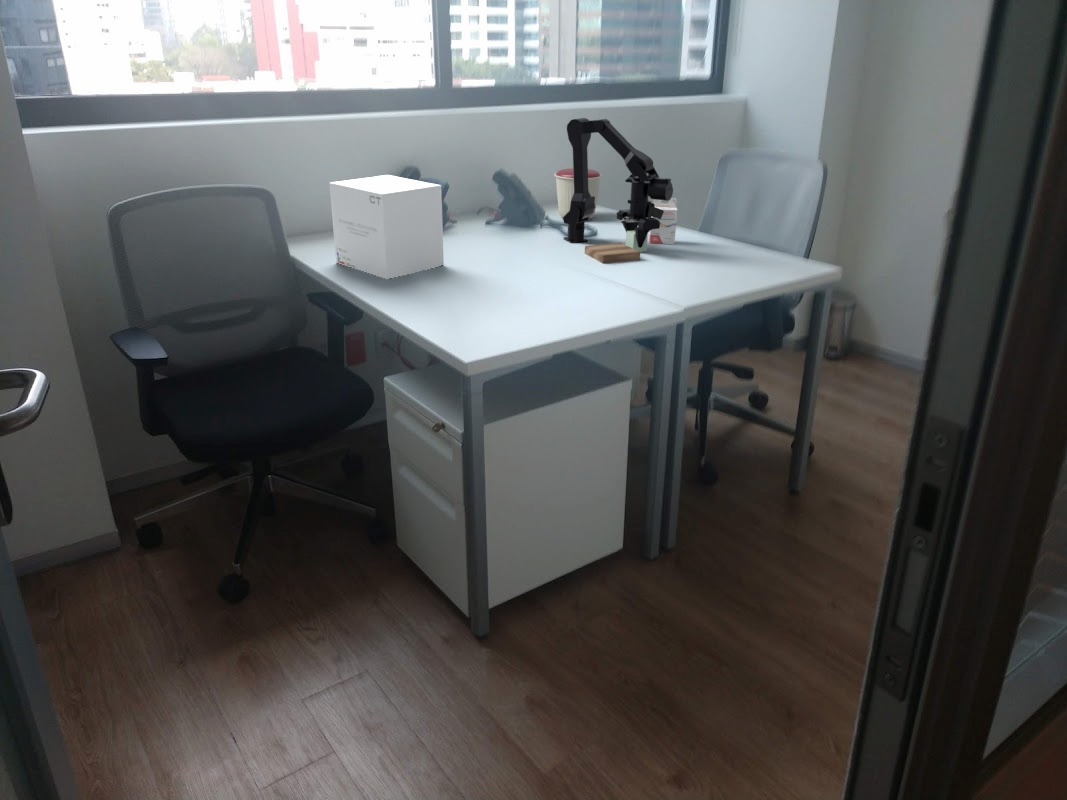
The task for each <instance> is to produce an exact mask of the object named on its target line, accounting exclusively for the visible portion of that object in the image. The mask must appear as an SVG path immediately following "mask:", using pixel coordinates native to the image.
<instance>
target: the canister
mask: <svg viewBox="0 0 1067 800" xmlns="http://www.w3.org/2000/svg"><path fill="white" fill-rule="evenodd" d="M553 176H554V177H555V182H556V183H555V186H556V196H557V205H558V213H559V216H560V217H561V218H562V219H563V217H564V216H565V215H566V214H567V213H568V212H569V211H570V203H571V199H572V197H573V194H574V173H573V167H572V168H563V169H559V170H558V171H557V172H555V173H554V174H553ZM602 177H603V175H602V174H601V173H600V171H597V170H595V169H591V168H588V191H589V193H590V195H591V197H592V196H595V207H596V208H597V203H598V197H599V191H600V184H601V178H602ZM596 208H595V209H594V212H593V214H592V215H591V216H590V217H589V220H591V219H593V218H594V216H595V214H596V213H595V212H596Z"/></svg>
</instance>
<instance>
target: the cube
mask: <svg viewBox="0 0 1067 800" xmlns="http://www.w3.org/2000/svg"><path fill="white" fill-rule="evenodd" d="M329 194H330V195H329V196H330V207H331V217H332V218H331V219H332V231H333V241H334V242H333V243H334V252H335V254H334V255H335V264H337V263H339V264H338V265H340V264H342V265H341V266H343V265H345V266H344V267H346V266H348V267H347V268H349V267H352V268H351V269H353V268H355V269H354V270H356V269H358V270H357V271H359V270H361V271H360V272H362V271H364V272H363V273H365V272H367V273H366V274H368V273H370V274H369V275H371V274H373V275H372V276H374V275H376V277H378V276H379V277H378V278H381V277H382V278H381V279H384V278H385V279H384V280H387V279H388V280H390V279H389V278H392V279H395V278H394V277H396V278H399V277H398V276H400V277H404V276H408V275H407V274H409V275H412V274H411V273H413V274H416V273H415V272H417V273H420V272H419V271H421V272H423V271H422V270H425V271H427V270H426V269H429V268H433V267H438V266H441V265H444V266H445V264H444V260H445V259H444V231H443V230H444V229H443V226H444V225H443V200H442V198H443V197H442V195H443V194H442V184H437V183H431V182H427V181H426V182H425V181H421V180H417V179H410V178H405V177H401V176H396V175H391V174H383V175H376V176H371V177H363V178H355V179H354V178H353V179H348V180H340V181H330V182H329ZM438 268H439V267H438ZM433 269H434V268H433ZM429 270H430V269H429ZM403 275H404V276H403Z"/></svg>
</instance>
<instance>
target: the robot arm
mask: <svg viewBox="0 0 1067 800" xmlns="http://www.w3.org/2000/svg"><path fill="white" fill-rule="evenodd" d="M566 132H567V139H568V141H569V143H570V145H571V148H572V161H573V162H572V168H573V173H574V194H573V197H572V199H571V203H570V211H569V212H568V213H567V214H566V215H565V216H564V217H563V218H562V220H563V223H564V224H565V225H567V235H566V236H564V237H563V239H564V240H565V241H567V242H569V243H584V242H585V243H586V242H588V241H589V240H588V239H587V238H585V222H589V220H590V219H589V217H590V216H591V215H592V214H593V212H594V209H595V208H597V206H596V207H595V196H592V197H591V195H590V193H589V191H588V169H589V166H588V165H589V164H588V163H589V162H588V146H589V144H590V141H591V138H592V137H591V136H592V134H594V133H598V134H599V135H600V136H601V137H602V138H603V139H604V140H605V141H606V142H607V143H608V145H610V146H611V148H613V149H614V150H615V152H616V153H618V155H620V156H621V158H622V160H623V161H624V164H625V166H626V168H627V169H628V171H629V172H630V175H629V176H628V177H627V178H626V179H625V180H624V181H625V183H630V184H631V185H630V186H631V187H630V199H627V204H629V208H627V209H619V210H618V211H617V212H616V219H618V220H619V221H620V222H621V225H622V227H623V228H624V230H625V232H626V234H627V231H633V230H635V233H636V238H637V243H638V247H639V248H641V247H642V246H643V243H644V241H645V238H646V236H647V237H648V235H649V233H650V230H652V229H659V228H660V221H659V220H658V219H660V220H661V218H662V215H663V212H664V210H661V209H658V208H656V207H655V204H653V202H652V201H651V200H653V199H656V200H664V201H666V202H669V200H670V199H671V198H673V194H674V187H673V184H672V182H671V181H672V179H671V178H669V177H666V178H662V177H660V176H659V173H658V172H657V170H656V169H655V167H654V161H653V159H652V158H651V157H650V156H649V155H647V154H645V153H644V152H643V151H641V150H638V149H637V148H636V147H634V146H633V145H632V144H631V143H630V142H629V140H627V139H626V138H625V137H624V135H622V134H621V133H620V131H619V130H618V129H617V128H616V127H614V126H613V124H612V123H611V122H610V120H609V119H607V118H602V119H595V120H594V119H593V120H589V119H588V118H586V117H581V118H580V117H579V118H574V119H571V120H570V121H569V122H568V123H567V124H566ZM649 198H650V199H651V200H649ZM664 201H663V202H664ZM595 210H596V209H595ZM651 216H652V217H654V218H651ZM655 218H658V219H655ZM647 234H648V235H647Z"/></svg>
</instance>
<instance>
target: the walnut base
mask: <svg viewBox="0 0 1067 800" xmlns="http://www.w3.org/2000/svg"><path fill="white" fill-rule="evenodd" d="M584 254H585V255H587V256H588V257H590V258H592V259H594V260H596V261H597V262H599V263H601V264H612V263H621V262H622V263H624V262H632V261H640V260H641V252H639V251H637V250H635V249H633V248H631V247H629V246H626V244H624V243H622V242H616V243H603V244H595V245H594V244H590V245H584Z"/></svg>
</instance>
